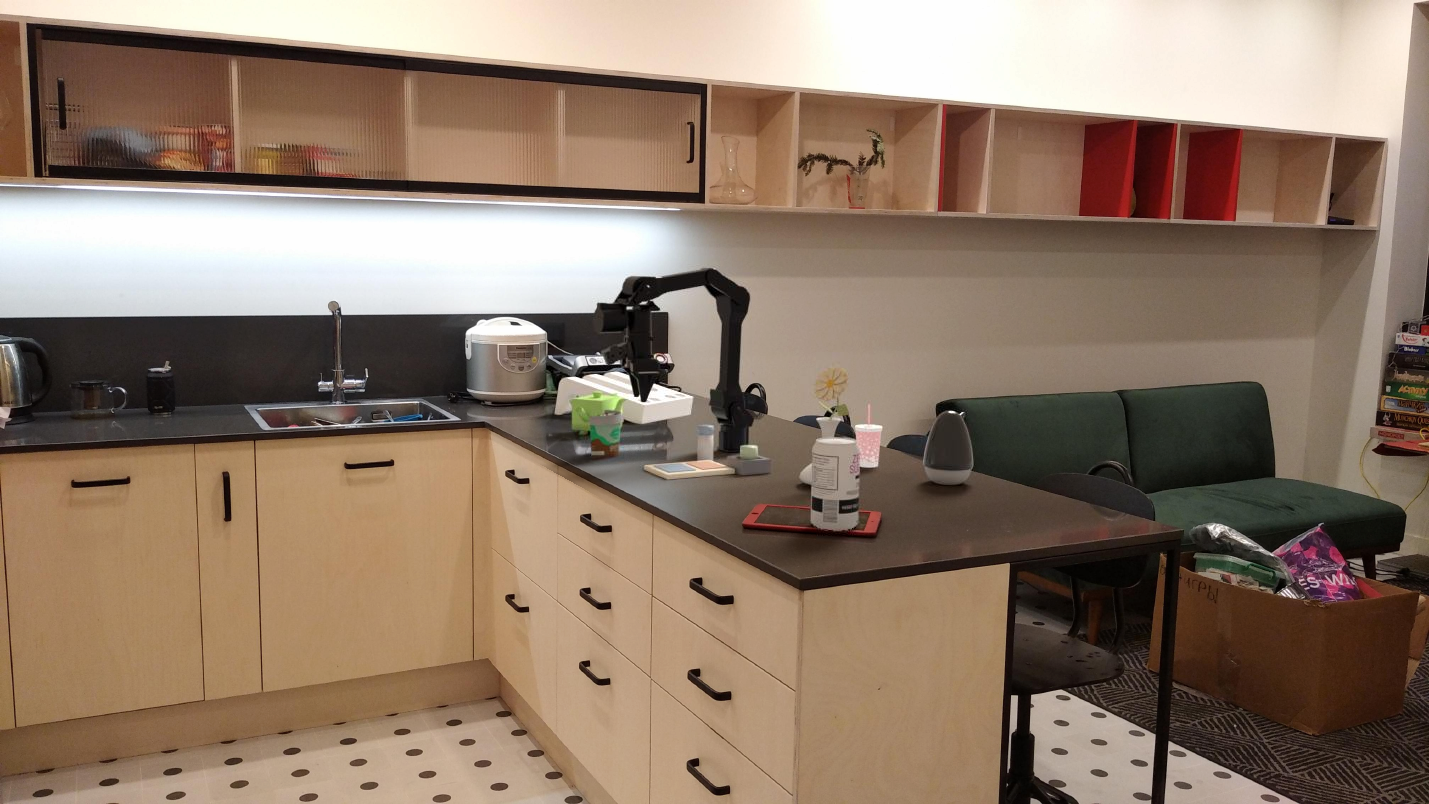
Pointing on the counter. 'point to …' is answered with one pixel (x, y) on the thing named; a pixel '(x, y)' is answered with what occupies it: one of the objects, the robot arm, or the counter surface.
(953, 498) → the counter surface
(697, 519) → the counter surface
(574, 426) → the kettle
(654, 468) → the picture board
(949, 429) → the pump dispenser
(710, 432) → the capped clear jar
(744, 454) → the button
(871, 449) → the beverage cup
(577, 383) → the bracket
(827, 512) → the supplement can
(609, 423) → the food container
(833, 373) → the flower in vase
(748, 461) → the button housing
